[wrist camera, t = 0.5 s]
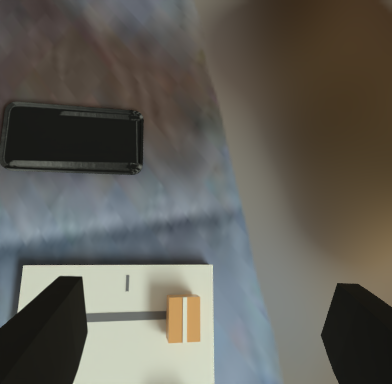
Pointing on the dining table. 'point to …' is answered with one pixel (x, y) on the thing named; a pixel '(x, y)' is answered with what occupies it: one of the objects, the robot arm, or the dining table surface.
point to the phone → (71, 139)
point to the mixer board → (135, 321)
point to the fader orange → (183, 318)
